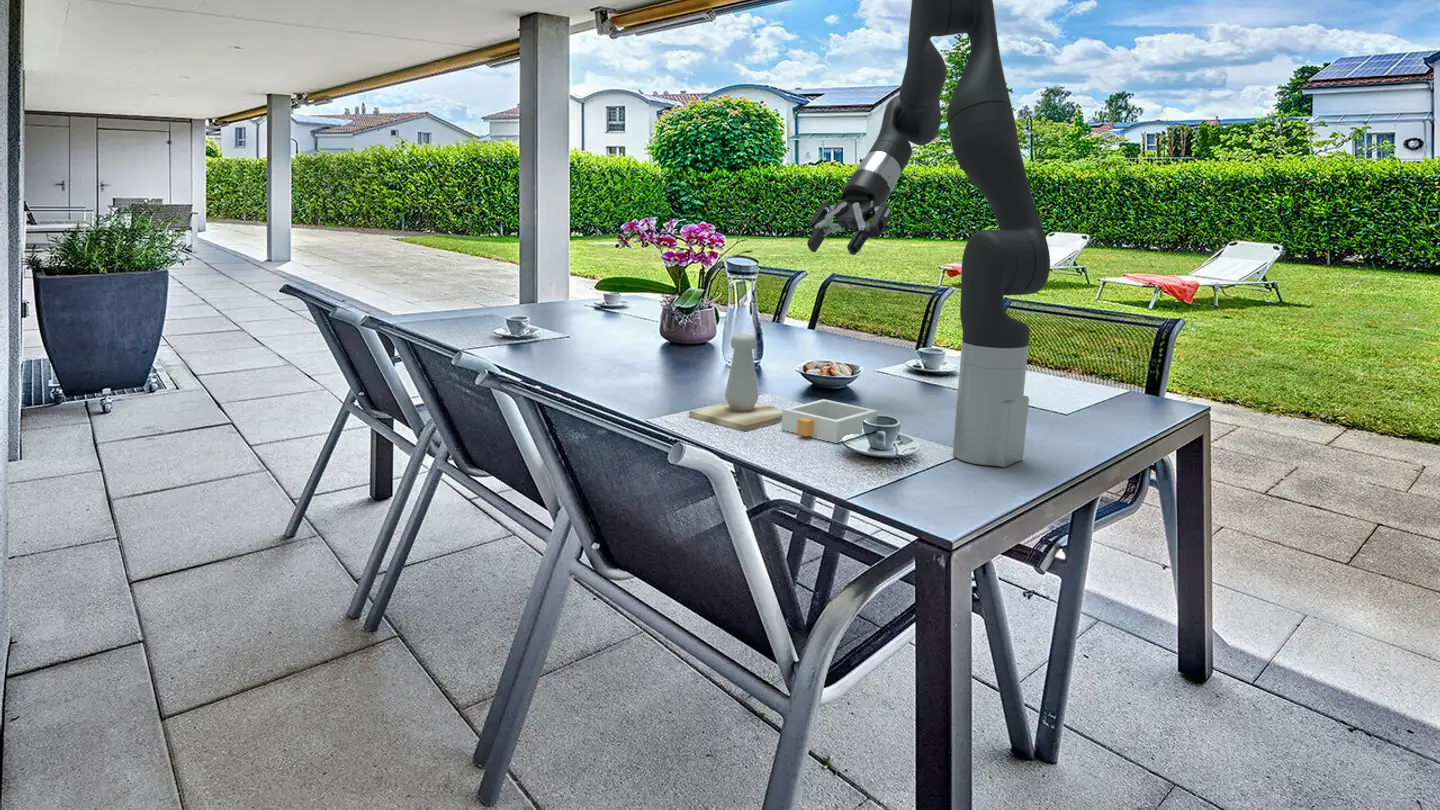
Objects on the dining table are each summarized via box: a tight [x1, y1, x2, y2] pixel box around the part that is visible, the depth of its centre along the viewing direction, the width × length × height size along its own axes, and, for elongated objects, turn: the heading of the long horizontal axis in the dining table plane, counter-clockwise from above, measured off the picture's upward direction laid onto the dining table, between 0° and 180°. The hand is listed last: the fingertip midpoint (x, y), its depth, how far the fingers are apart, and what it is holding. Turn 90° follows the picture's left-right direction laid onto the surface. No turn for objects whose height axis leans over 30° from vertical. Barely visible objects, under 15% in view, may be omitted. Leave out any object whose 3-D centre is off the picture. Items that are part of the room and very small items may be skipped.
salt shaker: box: [724, 333, 759, 412], centre depth 153 cm, size 6×6×13 cm
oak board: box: [688, 402, 783, 432], centre depth 153 cm, size 13×13×1 cm
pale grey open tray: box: [781, 398, 879, 442], centre depth 145 cm, size 11×13×4 cm
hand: (830, 250), depth 154 cm, fingers open, 8 cm apart
